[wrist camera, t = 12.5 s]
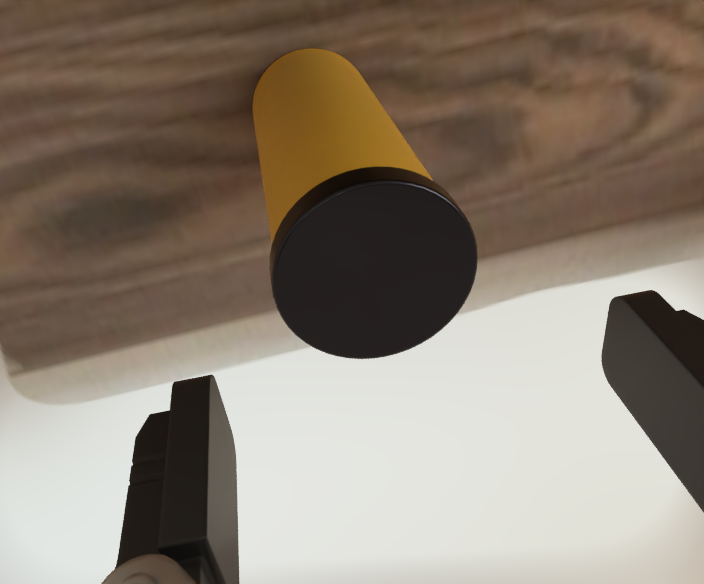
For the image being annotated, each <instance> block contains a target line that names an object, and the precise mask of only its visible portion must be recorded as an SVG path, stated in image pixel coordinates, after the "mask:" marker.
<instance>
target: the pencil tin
mask: <svg viewBox="0 0 704 584" xmlns="http://www.w3.org/2000/svg"><path fill="white" fill-rule="evenodd" d="M253 119H254V126H255V132H256V139H257V146H258V153H259V160H260V166H261V173H262V180H263V187H264V194H265V200H266V207H267V214H268V221H269V228H270V234H271V241H272V247H271V253H270V276H271V284H272V291H273V297H274V300H275V304H276V307H277V309H278V311H279V313H280V315H281V317H282V319H283V320H284V322H285V323H286V324H287V326H288V327H289V328H290V329H291V330H292V331H293V332H294V333H295V335H297V336H298V337H299V338H300V339H302V340H303V341H304V342H305V343H307V344H309V345H310V346H312V347H314V348H316V349H318V350H320V351H323V352H325V353H328V354H331V355H335V356H340V357H345V358H355V359H367V358H368V359H369V358H379V357H385V356H389V355H393V354H397V353H400V352H403V351H406V350H408V349H411V348H413V347H415V346H417V345H419V344H421V343H423V342H424V341H426V340H428V339H429V338H431V337H432V336H434V335H435V334H436V333H437V332H439V331H440V330H441V329H443V327H445V326H446V325H447V324H448V323H449V322H450V321H451V320H452V319H453V317H454V316H455V315H456V314H457V313H458V312H459V310H460V309H461V307H462V306H463V304H464V303H465V301H466V299H467V297H468V295H469V293H470V291H471V288H472V286H473V283H474V279H475V275H476V271H477V259H478V255H477V244H476V240H475V236H474V233H473V230H472V228H471V225H470V223H469V222H468V220H467V218H466V217H465V215H464V214H463V212H462V211H461V209H460V208H459V206H458V205H457V204H456V202H455V201H454V200H453V198H452V197H451V196H450V195H449V194H448V193H447V192H446V191H445V190H444V189H443V188H442V187H441V186H440V185H438V184H437V183H435V182H434V181H433V180H432V178H431V177H430V175H429V174H428V172H427V171H426V169H425V168H424V167H423V165H422V164H421V162H420V161H419V159H418V158H417V156H416V155H415V153H414V152H413V150H412V149H411V148H410V146H409V145H408V143H407V142H406V140H405V139H404V137H403V136H402V134H401V133H400V131H399V130H398V129H397V127H396V126H395V124H394V123H393V121H392V120H391V118H390V117H389V115H388V114H387V112H386V111H385V110H384V108H383V107H382V105H381V104H380V102H379V101H378V99H377V98H376V96H375V95H374V93H373V92H372V91H371V89H370V88H369V86H368V85H367V83H366V82H365V80H364V79H363V77H362V76H361V74H360V73H359V72H358V70H357V69H356V68H355V67H354V66H353V65H352V64H351V63H350V62H349V61H348V60H346V59H345V58H343V57H342V56H340V55H338V54H336V53H334V52H331V51H328V50H324V49H317V48H308V49H301V50H296V51H293V52H290V53H288V54H286V55H284V56H282V57H280V58H279V59H278V60H276V61H275V62H274V63H273V64H271V65H270V66H269V67H268V68H267V70H266V71H265V72H264V74H263V75H262V77H261V78H260V80H259V82H258V84H257V87H256V89H255V93H254V97H253Z"/></svg>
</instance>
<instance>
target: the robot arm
mask: <svg viewBox="0 0 704 584" xmlns="http://www.w3.org/2000/svg"><path fill="white" fill-rule="evenodd" d="M602 366H603V370H604V373H605V376H606V378H607V381H608V382H609V384H610V386H611V387H612V388H613V390H614V391H615V392H616V394H617V395H618V396H619V398H620V399H621V400H622V402H623V403H624V405H625V406H626V407H627V409H628V410H629V411H630V413H631V414H632V416H633V417H634V418H635V420H636V421H637V422H638V424H639V425H640V426H641V428H642V429H643V430H644V432H645V433H646V435H647V436H648V437H649V438H650V440H651V441H652V443H653V444H654V445H655V447H656V448H657V449H658V451H659V452H660V453H661V455H662V456H663V458H664V459H665V460H666V462H667V463H668V464H669V466H670V467H671V469H672V470H673V471H674V473H675V474H676V475H677V477H678V478H679V479H680V481H681V482H682V483H683V485H684V486H685V487H686V489H687V490H688V492H689V493H690V494H691V495H692V497H693V498H694V499H695V501H696V503H697V504H698V505H699V507H700V508H701V509H702V511H703V512H704V320H702V319H701V318H699V317H697V316H695V315H693V314H691V313H689V312H687V311H685V310H680V311H675V310H674V309H673V308H672V307H671V306H670V305H669V304H668V303H667V302H666V301H665V300H664V299H663V298H662V297H661V296H660V295H659V294H658V293H657V292H655V291H652V290H649V291H644V292H638V293H633V294H628V295H623V296H618V297H615V298H613V299H612V301H611V302H610V306H609V312H608V318H607V324H606V330H605V337H604V343H603V349H602ZM170 406H171V407H170V411H165V412H160V413H155V414H150V415H149V417H148V418H147V420H146V422H145V423H144V425H143V427H142V428H141V430H140V431H139V433H138V434H137V436H136V439H135V446H134V453H133V459H132V462H133V466H132V467H131V473H130V480H129V481H130V485H129V487H128V494H127V500H126V507H125V514H124V521H123V527H122V534H121V541H120V548H119V554H118V560H117V564H116V567H115V570H114V571H113V572H111V573H110V574H109V575H108V576H107V578H106V579H105V580H104V581H103V582H102V584H239V556H238V516H237V475H236V453H235V445H234V439H233V434H232V430H231V427H230V424H229V421H228V417H227V414H226V411H225V408H224V405H223V402H222V399H221V396H220V392H219V389H218V386H217V383H216V381H215V378H214V376H213V375H208V376H203V377H198V378H192V379H187V380H182V381H177V382H174V383H173V386H172V394H171V405H170Z"/></svg>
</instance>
